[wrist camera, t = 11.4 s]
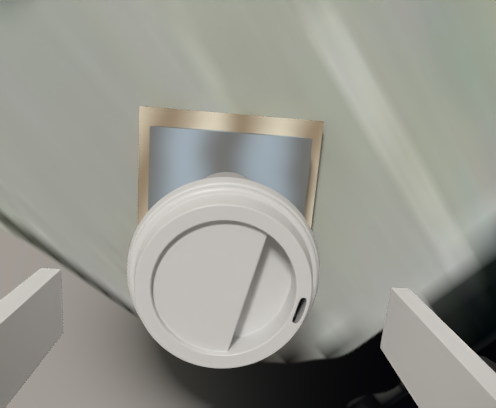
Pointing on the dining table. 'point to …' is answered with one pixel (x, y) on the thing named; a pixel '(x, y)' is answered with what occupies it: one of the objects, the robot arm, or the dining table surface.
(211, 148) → the pedestal
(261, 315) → the coffee cup
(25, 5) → the dining table surface
